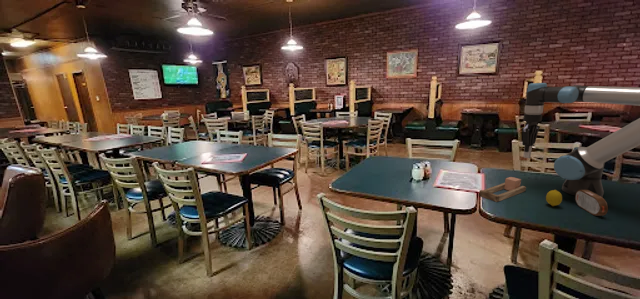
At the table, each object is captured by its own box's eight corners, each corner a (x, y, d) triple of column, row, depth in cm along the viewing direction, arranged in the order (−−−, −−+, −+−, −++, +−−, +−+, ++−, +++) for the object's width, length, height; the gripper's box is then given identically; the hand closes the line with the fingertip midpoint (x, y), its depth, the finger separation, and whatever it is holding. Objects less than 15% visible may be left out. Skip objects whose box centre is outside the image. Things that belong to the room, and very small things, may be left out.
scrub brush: (606, 219, 110) (610, 200, 108) (597, 219, 110) (601, 200, 109) (580, 203, 124) (583, 186, 122) (572, 203, 125) (575, 186, 123)
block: (519, 190, 141) (521, 179, 140) (514, 192, 139) (515, 181, 138) (509, 187, 146) (510, 176, 144) (504, 189, 144) (505, 178, 142)
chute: (525, 191, 140) (526, 185, 140) (497, 202, 129) (497, 196, 129) (507, 186, 148) (507, 180, 147) (478, 195, 137) (479, 190, 137)
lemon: (557, 209, 119) (559, 193, 117) (542, 205, 124) (544, 189, 122) (563, 206, 122) (565, 190, 120) (548, 202, 127) (551, 186, 125)
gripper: (531, 112, 144) (525, 154, 150) (518, 114, 139) (512, 157, 144) (548, 113, 138) (541, 157, 143) (534, 115, 132) (528, 161, 138)
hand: (526, 157), depth 144 cm, fingers closed
